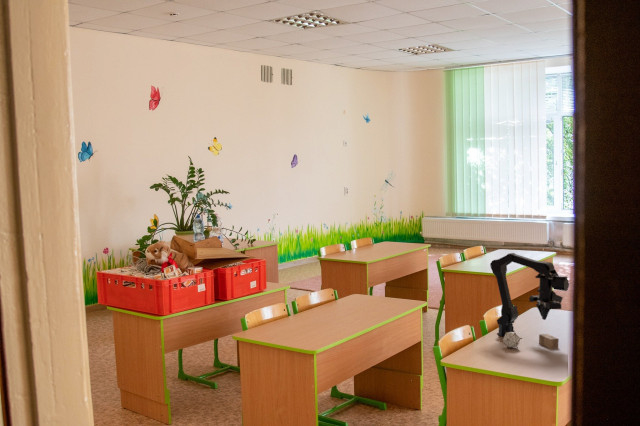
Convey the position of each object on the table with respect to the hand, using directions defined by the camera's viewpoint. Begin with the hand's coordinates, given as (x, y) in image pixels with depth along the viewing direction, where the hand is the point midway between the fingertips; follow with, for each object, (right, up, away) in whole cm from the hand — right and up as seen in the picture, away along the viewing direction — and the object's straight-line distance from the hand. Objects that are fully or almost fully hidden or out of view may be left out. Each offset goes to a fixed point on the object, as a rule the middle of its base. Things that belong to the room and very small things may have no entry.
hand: (544, 319), depth 287 cm
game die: (-19, -12, -8) cm, 24 cm away
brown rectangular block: (0, -10, +1) cm, 10 cm away
